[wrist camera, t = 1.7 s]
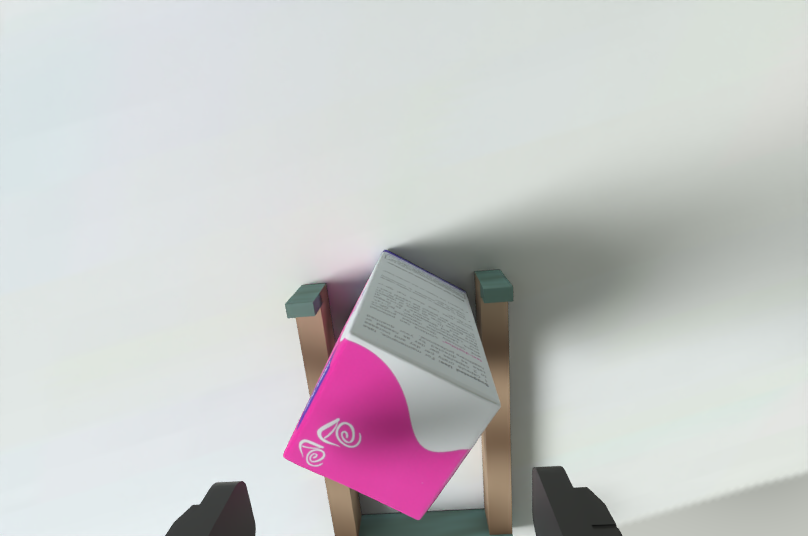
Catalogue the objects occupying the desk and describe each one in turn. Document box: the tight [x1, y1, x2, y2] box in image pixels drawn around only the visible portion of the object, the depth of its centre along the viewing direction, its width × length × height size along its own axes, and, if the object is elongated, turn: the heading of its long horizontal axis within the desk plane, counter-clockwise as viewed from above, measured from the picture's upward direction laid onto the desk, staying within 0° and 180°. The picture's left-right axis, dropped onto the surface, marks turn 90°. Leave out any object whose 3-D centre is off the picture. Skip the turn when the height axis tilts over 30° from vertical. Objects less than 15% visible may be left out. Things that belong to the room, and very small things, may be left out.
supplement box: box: [283, 250, 501, 520], centre depth 18 cm, size 6×6×12 cm
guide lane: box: [285, 270, 513, 536], centre depth 24 cm, size 20×12×5 cm, turn 5°
